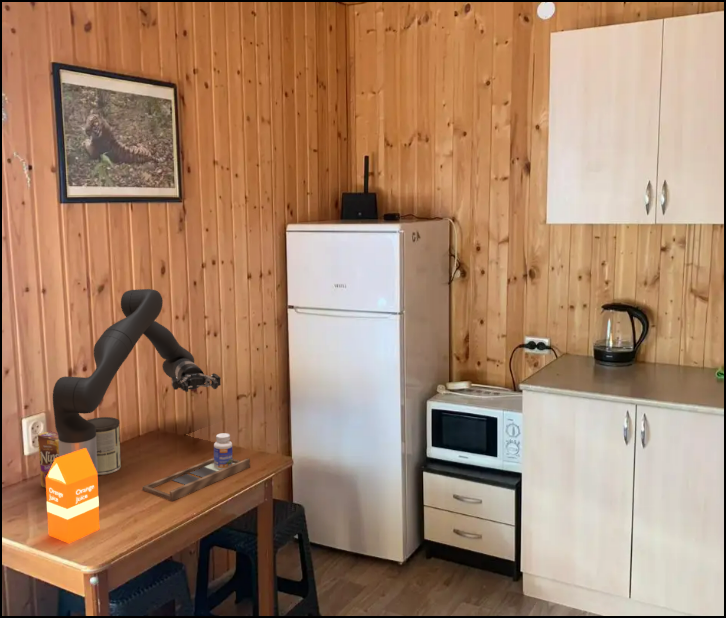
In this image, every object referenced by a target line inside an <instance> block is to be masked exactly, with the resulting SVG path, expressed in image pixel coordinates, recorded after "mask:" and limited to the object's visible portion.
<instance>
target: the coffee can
mask: <svg viewBox="0 0 726 618" xmlns="http://www.w3.org/2000/svg"><path fill="white" fill-rule="evenodd" d="M86 420H87V421H89V422H91V423H93V424H94V425H95V427H96V444H97V469H98V476H99V475H102V476H103V475H109V474H112V473H115V472H117V471H119V470H120V469H121V467H122V465H121V464H122V463H121V443H120V442H121V441H120V439H121V438H120V436H121V435H120V419H118V418H116V417H109V416H102V417H94V418H90V419H86Z"/></svg>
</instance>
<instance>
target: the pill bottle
mask: <svg viewBox="0 0 726 618" xmlns="http://www.w3.org/2000/svg"><path fill="white" fill-rule="evenodd" d="M213 458H214V467H215V468H216V469H223V468H226V467H228V466H230V465H232V458H233V442H232V441H231V434H230V433H228V432H227V433H226V432H224V433H218V434H216V437H215V442H214V443H213Z"/></svg>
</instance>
